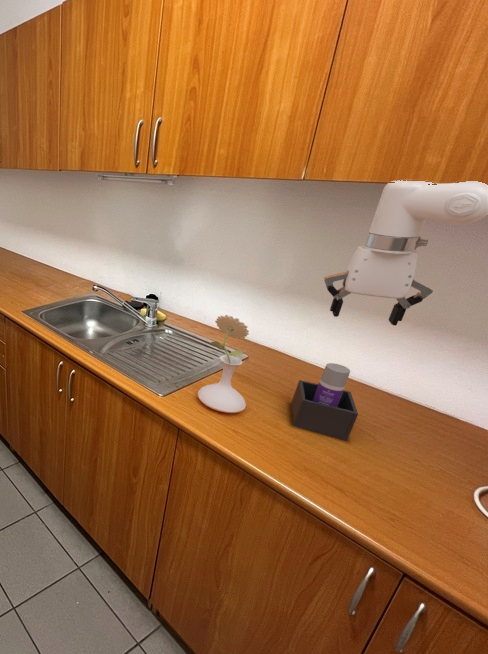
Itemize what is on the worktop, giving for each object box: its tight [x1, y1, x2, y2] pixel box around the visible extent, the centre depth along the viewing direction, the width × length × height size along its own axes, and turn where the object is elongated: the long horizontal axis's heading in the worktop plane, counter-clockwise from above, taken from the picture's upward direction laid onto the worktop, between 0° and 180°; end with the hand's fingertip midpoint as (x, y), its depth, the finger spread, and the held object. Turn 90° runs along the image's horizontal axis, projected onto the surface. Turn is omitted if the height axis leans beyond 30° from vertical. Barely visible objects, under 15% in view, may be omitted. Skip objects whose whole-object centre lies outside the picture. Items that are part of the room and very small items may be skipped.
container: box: [313, 362, 351, 407], centre depth 97 cm, size 5×5×15 cm
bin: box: [290, 379, 359, 441], centre depth 98 cm, size 10×10×8 cm
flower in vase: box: [197, 314, 250, 414], centre depth 103 cm, size 13×11×25 cm
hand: (362, 318), depth 88 cm, fingers open, 9 cm apart
